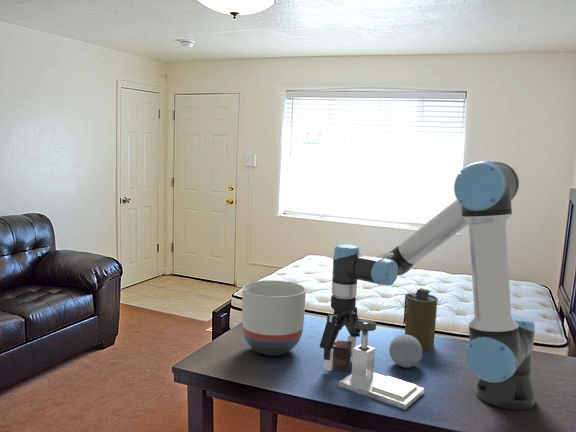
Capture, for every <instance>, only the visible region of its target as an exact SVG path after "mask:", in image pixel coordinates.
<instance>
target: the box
mask: <svg viewBox="0 0 576 432" xmlns="http://www.w3.org/2000/svg"><path fill="white" fill-rule="evenodd" d="M332 349H333V366H332V370H334V371H335V370H336V371H342V372H343V371H344V372H349V371H350V368H351V365H352V361H351V360H352V357H351V342H349V341H348V340H347V341H345V340H337V339H336V340H335V342H334V344H333V347H332Z"/></svg>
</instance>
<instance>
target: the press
mask: <svg viewBox="0 0 576 432" xmlns="http://www.w3.org/2000/svg"><path fill="white" fill-rule="evenodd" d="M375 354H376V348H375V347H373V346H369V345H367V351H364V350H361V343H360V344H358V345H356V347H355V348H353V357H351V360H352V361H351V374H349V375H347V376H345V377H344V378H342V379H341V380H339V383H338V387H340V388H342V389H346V390H348V391H351V392H355V393H357V394H360V395H362V396H366V397H368V398H371V399H373V400H374V399H375V400H378V401H379V402H383V403H385V404H388V405H391V406H394V407H398V408H400V409H402V410H407V409H408V408H409V407H410V406H411V405H412V404H414V403H415V402H416V401H417V400H418V399H419V398H420V397H422V396H423V395H424V393H425V388H424V387H421V386H418V385H417V384H414V383H411V382H408V381H405V380H402V379H400V378H396V377H393V376H390V375H386V376H385V375H383V374H380V373H377V372H375V360H376V359H375Z"/></svg>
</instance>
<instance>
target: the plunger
mask: <svg viewBox="0 0 576 432" xmlns="http://www.w3.org/2000/svg"><path fill="white" fill-rule="evenodd" d="M355 328H356V329H358V330H361V339H360V341H361V342H360V344H361V350H364V351H367V346H369V345H368V343H369V342H368V341H369V332H373V331H375V330H377V322H376V321H374V320H371V319H366V318H365V319H363V318H362V319H361V318H359V319H358V320H356V321H355Z"/></svg>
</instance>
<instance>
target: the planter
mask: <svg viewBox="0 0 576 432" xmlns="http://www.w3.org/2000/svg"><path fill="white" fill-rule="evenodd" d="M306 291H307V290H306V288H305V287H304V286H303V285H301V284H298V283H297V282H296V283H295V282H291V281H285V280H274V279H273V280H271V279H270V280H268V279H267V280H256V281H251V282H248V283H246V284H244V285H243V286H242V293H241V294H242V295H241V296H242V298H241V299H242V300H241V313H242V314H241V316H242V317H241V318H242V321H241V322H242V323H241V324H242V333H243V335H244V339H245V341H246V342H247V344H248V345H249V346H250V348H251V349H253V350H254V351H256V352H257V353H259V354H261V355H264V356H282V355H284V354H286V353H288V352H290V351H292V350H293V349H294V348H295V347H296V346H297V345H298V344H299V343H300V340H301V337H302V335H303V331H304V323H305V322H304V321H305V313H306V312H305V309H306V294H307V292H306Z"/></svg>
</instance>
